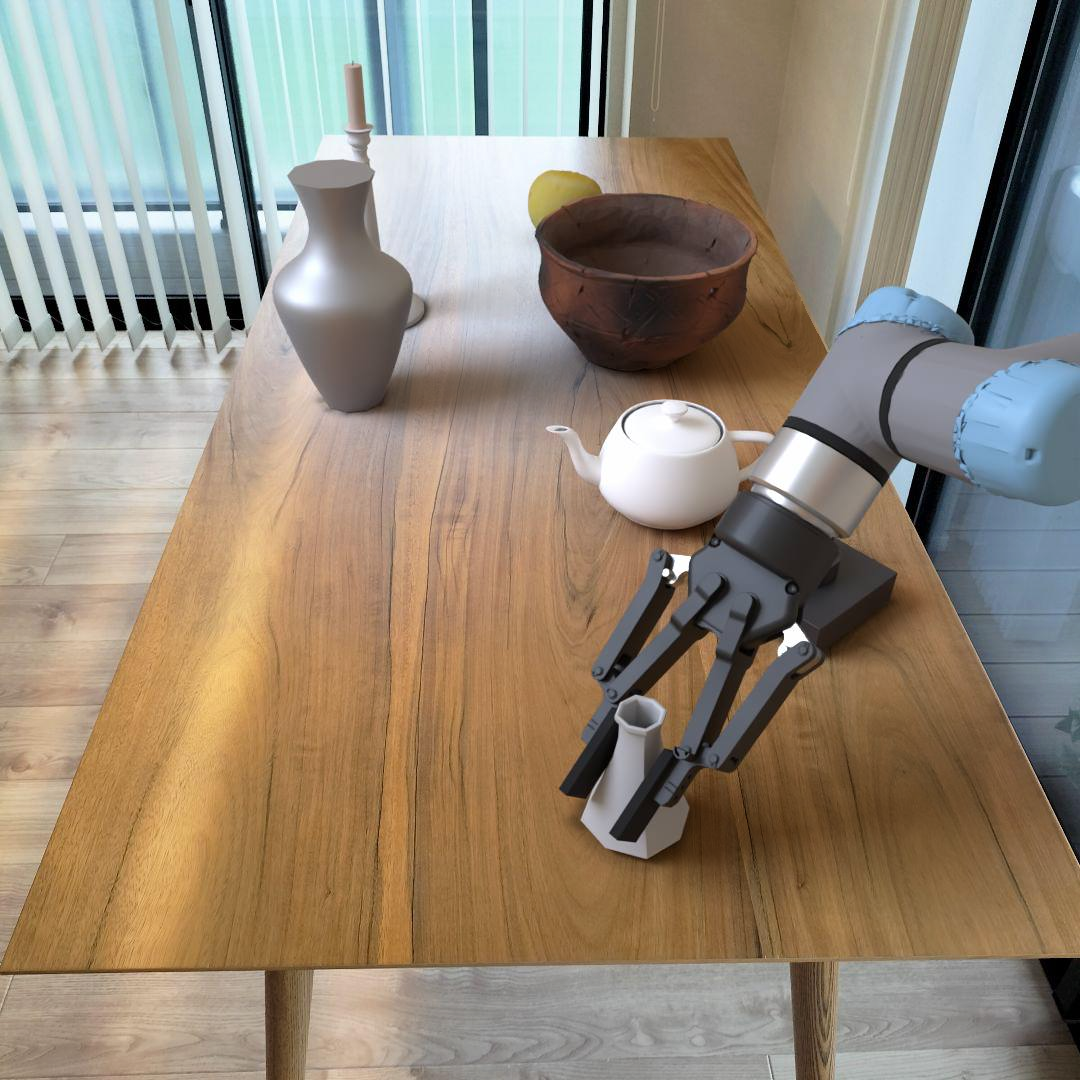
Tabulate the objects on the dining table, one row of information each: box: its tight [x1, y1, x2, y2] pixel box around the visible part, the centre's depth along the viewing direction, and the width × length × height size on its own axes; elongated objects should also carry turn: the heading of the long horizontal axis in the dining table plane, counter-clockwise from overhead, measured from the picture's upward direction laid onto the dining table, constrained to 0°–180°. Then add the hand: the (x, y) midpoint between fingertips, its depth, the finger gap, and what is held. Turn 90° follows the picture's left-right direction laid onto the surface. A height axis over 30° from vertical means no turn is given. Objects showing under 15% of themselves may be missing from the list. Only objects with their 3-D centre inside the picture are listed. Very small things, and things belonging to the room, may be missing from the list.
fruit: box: [527, 169, 603, 229], centre depth 154 cm, size 10×11×10 cm
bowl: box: [534, 192, 759, 372], centre depth 125 cm, size 25×25×15 cm
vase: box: [271, 158, 414, 413], centre depth 112 cm, size 14×14×25 cm
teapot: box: [545, 399, 775, 531], centre depth 102 cm, size 22×14×11 cm, turn 93°
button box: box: [780, 538, 899, 652], centre depth 93 cm, size 13×11×5 cm
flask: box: [580, 695, 690, 860], centre depth 72 cm, size 7×7×10 cm
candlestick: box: [341, 60, 425, 329], centre depth 128 cm, size 13×13×30 cm
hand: (597, 815), depth 71 cm, fingers closed on flask, 4 cm apart
